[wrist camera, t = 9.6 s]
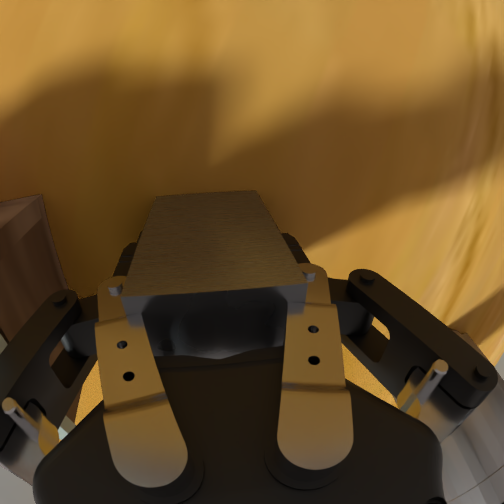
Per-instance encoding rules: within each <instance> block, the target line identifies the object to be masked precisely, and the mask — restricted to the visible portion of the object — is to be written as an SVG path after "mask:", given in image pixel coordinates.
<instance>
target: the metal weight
mask: <svg viewBox="0 0 504 504" xmlns="http://www.w3.org/2000/svg"><path fill="white" fill-rule="evenodd" d="M307 288H308V282H307V280H306V278H305V276H304V274H303V273H302V271H301V269H300V267H299V265H298V263H297V262H296V260H295V258H294V256H293V254H292V253H291V251H290V249H289V247H288V245H287V244H286V242H285V240H284V238H283V237H282V235H281V233H280V231H279V230H278V228H277V226H276V224H275V222H274V221H273V219H272V217H271V215H270V214H269V212H268V210H267V209H266V207H265V205H264V203H263V202H262V200H261V198H260V196H259V195H258V193H257V191H234V192H214V193H197V194H182V195H169V196H157V197H156V198H155V201H154V203H153V206H152V208H151V211H150V213H149V216H148V218H147V221H146V224H145V226H144V229H143V232H142V234H141V237H140V240H139V242H138V245H137V248H136V251H135V254H134V257H133V259H132V262H131V265H130V268H129V271H128V274H127V277H126V281H125V284H124V287H123V290H122V293H121V301H122V304H123V307H124V310H125V314H126V315H132V314H138V313H141V315H142V318H143V322H144V325H145V329H146V332H147V335H148V339H149V342H150V345H151V348H152V351H153V355H154V356H173V355H189V356H196V357H204V358H212V359H223V358H226V357H230V356H233V355H236V354H239V353H243V352H246V351H249V350H252V349H260V348H268V347H276V346H283V338H284V330H285V322H286V314H287V306H288V302H305V301H306V294H307Z"/></svg>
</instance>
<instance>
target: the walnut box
mask: <svg viewBox="0 0 504 504" xmlns="http://www.w3.org/2000/svg"><path fill="white" fill-rule="evenodd" d="M65 289H68V286H67V283H66V280H65V278H64V275H63V272H62V269H61V266H60V263H59V259H58V256H57V253H56V250H55V246H54V243H53V239H52V236H51V232H50V228H49V224H48V220H47V216H46V212H45V207H44V203H43V198H42V194H41V195H35V196H30V197H25V198H20V199H15V200H10V201H5V202H0V334H1V335H2V337H3V338H4V340H5V341H6V343H7V344H9V342H10V341H11V340H12V339H13V337H14V336H15V335H16V334H17V333H18V331H19V330H20V329H21V328H22V327H23V325H24V324H25V323H26V322H27V321H28V319H29V318H30V317H31V316H32V315H33V314H34V313H35V311H36V310H37V309H38V308H39V307H40V306H41V305H42V304H43V302H44V301H45V300H46V299H47V298H48V297H49V296H50V295H52V294H53V293H55V292H57V291H60V290H65ZM63 348H64V346H63V344H62V342H61V340H60V341H59V343H58V344H57V346H56V347H55V348H54V350H53V351H52V353H51V355H50V358H49V364H50V367H51V366H52V364H53V363H54V361H55V360H56V358H57V357H58V356H59V354H60V353H61V351H62V350H63ZM82 386H83V385H82ZM81 390H82V387H81V389H80V390H79V392H78V394H77V396H76V397H75V399H74V401H73V403H72V405H71V407H70V408H69V410H68V412H67V414H66V416H67V417H68V418H69V419H70V420H71V421H72V422H73V423H75V418H76V413H77V408H78V403H79V399H80V394H81Z"/></svg>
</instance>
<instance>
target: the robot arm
mask: <svg viewBox="0 0 504 504" xmlns="http://www.w3.org/2000/svg"><path fill="white" fill-rule="evenodd" d="M276 226H277V225H276ZM277 228H278V227H277ZM278 230H279V229H278ZM142 232H143V231H142ZM142 232H141V233H140V236H139V238H138V241H137V243H130V244H129V245H128V246H127V247H126V248H125V249H124V250H123V252H122V254H121V257H120V259H119V263H118V264H117V267H116V269H115V272H114V274H113V277H111V278H108V279H106V280H105V281H103V282H102V283H101V284H100V285H99V287H98V289H97V294H96V295H94V296H90V297H87V298H83V299H78V296H77V294H76V292H75V291H73V290H69V289H65V290H60V291H57V292H55V293H53V294H52V295H50V296H49V297H48V298H47V299H46V300H45V301H44V302H43V304H42V305H41V306H40V307H39V308H38V309H37V310H36V311H35V313H34V314H33V315H32V316H31V317H30V318H29V319H28V321H27V322H26V323H25V324H24V325H23V327H22V328H21V329H20V330H19V331H18V333H17V334H16V335H15V336H14V337H13V339H12V340H11V341H10V342H9V344H8V345H7V346H6V347H5V349H4V350H3V351H2V353H1V354H0V466H1V467H2V468H4V469H6V470H8V471H10V472H11V473H13V474H14V475H16V476H17V477H19V478H21V479H23V480H24V481H25V482H27V483H28V484H30V485H31V486H33V495H34V500H35V503H36V504H504V380H503V379H502V378H501V376H500V375H499V373H498V372H497V371H496V369H495V368H494V366H493V365H492V364H491V363H490V362H489V360H488V359H487V358H486V356H485V355H484V354H483V353H482V351H481V350H480V349H479V348H478V346H477V345H476V344H475V343H474V341H473V340H472V339H471V338H470V337H469V335H468V334H467V333H465V334H460V333H459V332H458V331H456V330H451V329H450V328H448V327H447V326H446V325H445V324H443V323H442V322H441V321H440V320H438V319H437V318H436V317H435V316H433V315H432V314H431V313H430V312H428V311H427V310H426V309H424V308H423V307H422V306H421V305H419V304H418V303H417V302H415V301H414V300H413V299H411V298H410V297H409V296H407V295H406V294H405V293H403V292H402V291H401V290H399V289H398V288H397V287H395V286H394V285H393V284H391V283H390V282H389V281H387V280H386V279H385V278H383V277H382V276H381V275H379V274H378V273H376V272H374V271H371V270H367V269H356V270H353V271H352V272H351V273H350V274H349V278H348V280H342V279H333V278H328V277H327V273H326V271H325V270H324V269H323V268H322V267H320V266H318V265H315V264H311V263H310V261H309V260H308V258H307V256H306V255H305V253H304V252H303V250H302V248H301V247H300V245H299V244H298V242H297V241H296V239H295V238H294V237H292V236H291V235H289V234H288V233H282V234H281V235H282V237H283V238H284V240H285V242H286V244H287V245H288V247H289V249H290V251H291V253H292V254H293V256H294V258H295V260H296V262H297V263H298V265H299V267H300V269H301V271H302V273H303V274H304V276H305V278H306V280H307V282H308V288H307V294H306V301H305V302H288V306H287V314H286V322H285V330H284V338H283V346H276V347H268V348H260V349H252V350H249V351H246V352H243V353H239V354H236V355H233V356H230V357H226V358H223V359H212V358H204V357H196V356H189V355H173V356H154V355H153V351H152V348H151V345H150V342H149V339H148V335H147V332H146V329H145V325H144V322H143V318H142V315H141V313H138V314H132V315H126V314H125V310H124V307H123V304H122V301H121V293H122V290H123V287H124V284H125V281H126V277H127V274H128V271H129V268H130V265H131V262H132V259H133V257H134V254H135V251H136V248H137V245H138V242H139V240H140V237H141V234H142ZM280 233H281V232H280ZM374 317H376V318H377V319H378V320H379V321H380V322H381V323H382V324H384V325H385V326H386V327H387V329H388V330H389V333H390V340H388V339H387V338H386V337H385V336H384V335H383V334H382V333H381V332H380V331H378V330H377V329H376V328H375V327H374V326H373V325H372V321H373V318H374ZM60 340H61V342H62V344H63V346H64V348H63V350H62V351H61V353H60V354H59V356H58V357H57V358H56V360H55V361H54V363H53V364H52V366H51V367H50V364H49V358H50V355H51V353H52V351H53V350H54V348H55V347H56V346H57V344H58V343H59V341H60ZM341 343H342V344H343V345H344V346H345V347H346V348H347V349H348V350H349V351H350V352H351V353H352V354H353V355H354V356H355V357H356V358H357V359H358V360H359V361H360V362H361V363H362V364H363V365H364V366H365V367H366V368H367V369H368V370H369V371H370V372H371V373H372V374H373V375H374V376H375V377H376V378H377V380H378V381H379V382H380V383H381V384H382V385H383V386H384V387H385V388H386V389H387V390H388V391H389V392H390V393H391V394H392V396H393V398H394V400H395V402H396V404H397V406H398V408H399V409H398V408H396V407H394V406H392V405H390V404H389V403H387V402H385V401H383V400H381V399H380V398H378V397H376V396H374V395H373V394H371V393H369V392H367V391H366V390H364V389H362V388H360V387H359V386H357V385H355V384H354V383H352V382H350V381H349V380H347V379H345V374H344V363H343V354H342V345H341ZM97 360H98V366H99V374H100V381H101V387H102V394H103V400H102V401H101V402H100V403H99V404H98V405H97V406H96V407H95V408H94V409H93V410H92V411H91V412H90V413H89V414H88V415H87V416H86V417H85V418H84V419H83V420H82V421H81V422H80V423H79V424H78V425H77V426H76V427H75V428H74V429H72V430H71V431H70V432H69V433H68V434H67V435H66V436H65V437H64V438H63V439H62V440H61V441H60V442H59V433H58V429H59V427H60V425H61V423H62V421H63V420H64V418H65V416H66V414H67V412H68V410H69V408H70V407H71V405H72V403H73V401H74V399H75V397H76V396H77V394H78V392H79V390H80V389H81V387H82V385H83V383H84V382H85V380H86V378H87V376H88V375H89V373H90V371H91V370H92V368H93V366H94V365H95V363H96V361H97Z"/></svg>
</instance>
